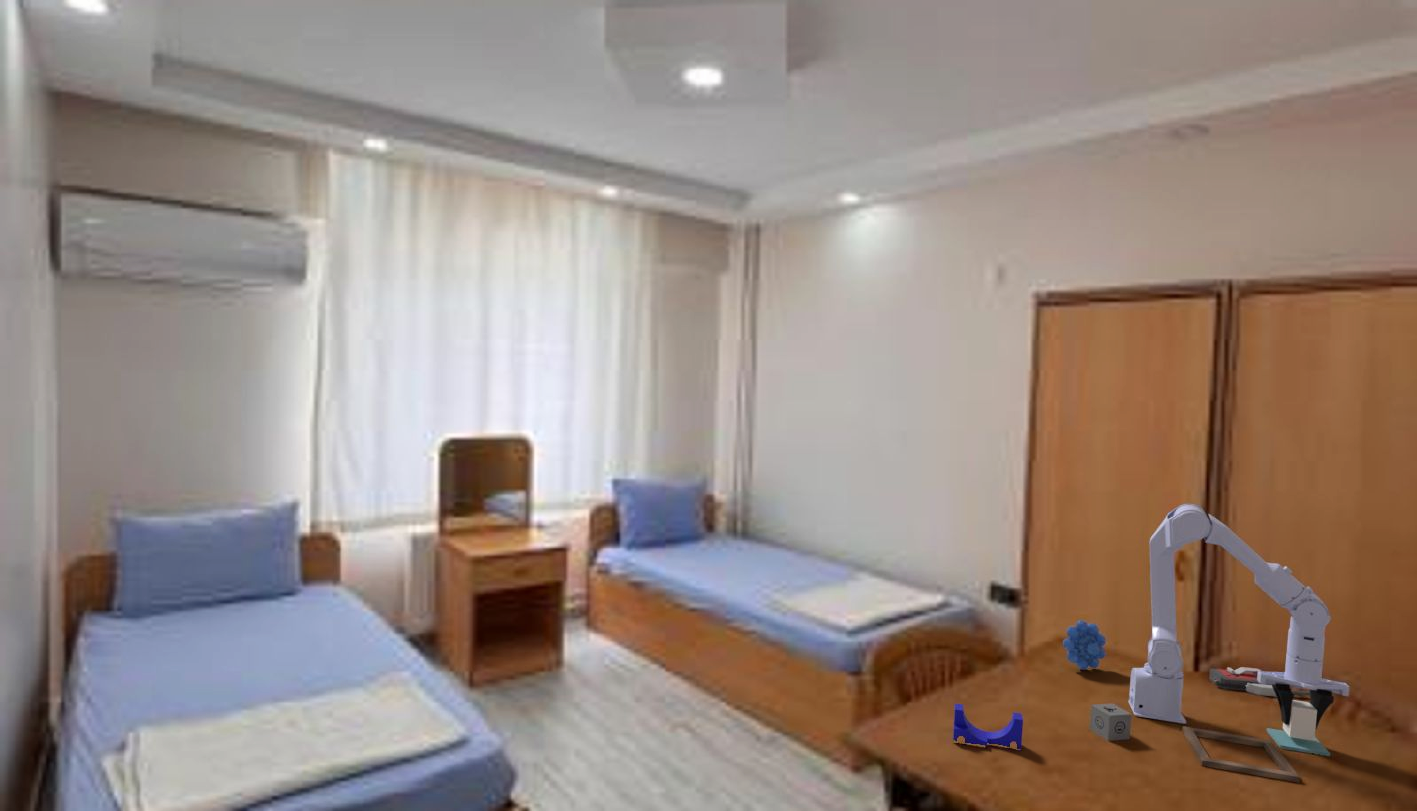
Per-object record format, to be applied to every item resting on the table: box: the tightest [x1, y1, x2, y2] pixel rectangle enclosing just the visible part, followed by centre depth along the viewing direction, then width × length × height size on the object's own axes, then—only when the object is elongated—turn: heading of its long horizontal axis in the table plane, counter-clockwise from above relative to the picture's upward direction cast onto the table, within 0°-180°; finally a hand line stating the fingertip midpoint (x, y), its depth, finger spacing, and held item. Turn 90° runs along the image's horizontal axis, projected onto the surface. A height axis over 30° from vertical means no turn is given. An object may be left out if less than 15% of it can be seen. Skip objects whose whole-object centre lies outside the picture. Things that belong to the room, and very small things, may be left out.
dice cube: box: [1089, 702, 1132, 742], centre depth 158 cm, size 5×5×5 cm
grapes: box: [1062, 619, 1107, 671], centre depth 191 cm, size 12×7×12 cm, turn 104°
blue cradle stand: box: [952, 702, 1024, 750], centre depth 151 cm, size 12×4×6 cm, turn 73°
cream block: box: [1282, 699, 1317, 741], centre depth 157 cm, size 4×4×6 cm
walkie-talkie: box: [1209, 666, 1310, 698], centre depth 185 cm, size 9×4×20 cm
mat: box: [1266, 727, 1331, 757], centre depth 157 cm, size 8×8×1 cm
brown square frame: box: [1182, 726, 1301, 784], centre depth 151 cm, size 15×15×1 cm
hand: (1298, 724), depth 157 cm, fingers closed on cream block, 4 cm apart
